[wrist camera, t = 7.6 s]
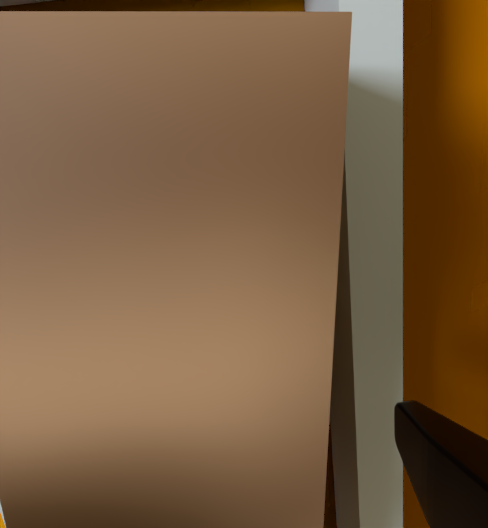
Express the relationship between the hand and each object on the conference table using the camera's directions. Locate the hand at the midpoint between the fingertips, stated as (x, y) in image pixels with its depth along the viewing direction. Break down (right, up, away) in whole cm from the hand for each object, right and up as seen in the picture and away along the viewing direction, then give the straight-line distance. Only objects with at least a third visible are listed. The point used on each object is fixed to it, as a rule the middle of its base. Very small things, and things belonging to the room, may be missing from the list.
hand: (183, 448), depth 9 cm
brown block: (0, +1, +2) cm, 3 cm away
